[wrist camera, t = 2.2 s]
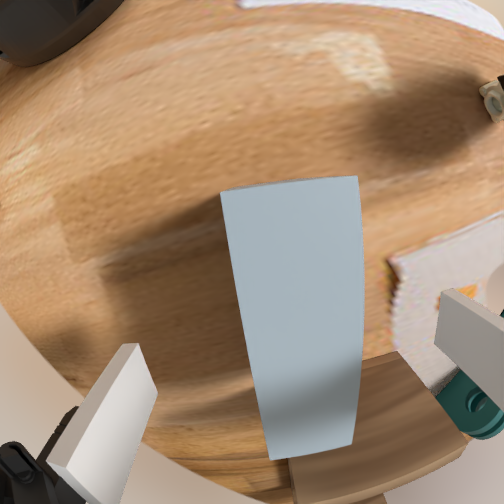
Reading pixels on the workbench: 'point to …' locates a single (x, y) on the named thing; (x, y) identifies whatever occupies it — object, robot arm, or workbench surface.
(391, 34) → the workbench surface
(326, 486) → the track
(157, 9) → the workbench surface
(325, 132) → the workbench surface
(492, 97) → the pneumatic valve
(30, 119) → the workbench surface
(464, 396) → the bracket
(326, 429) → the door panel
